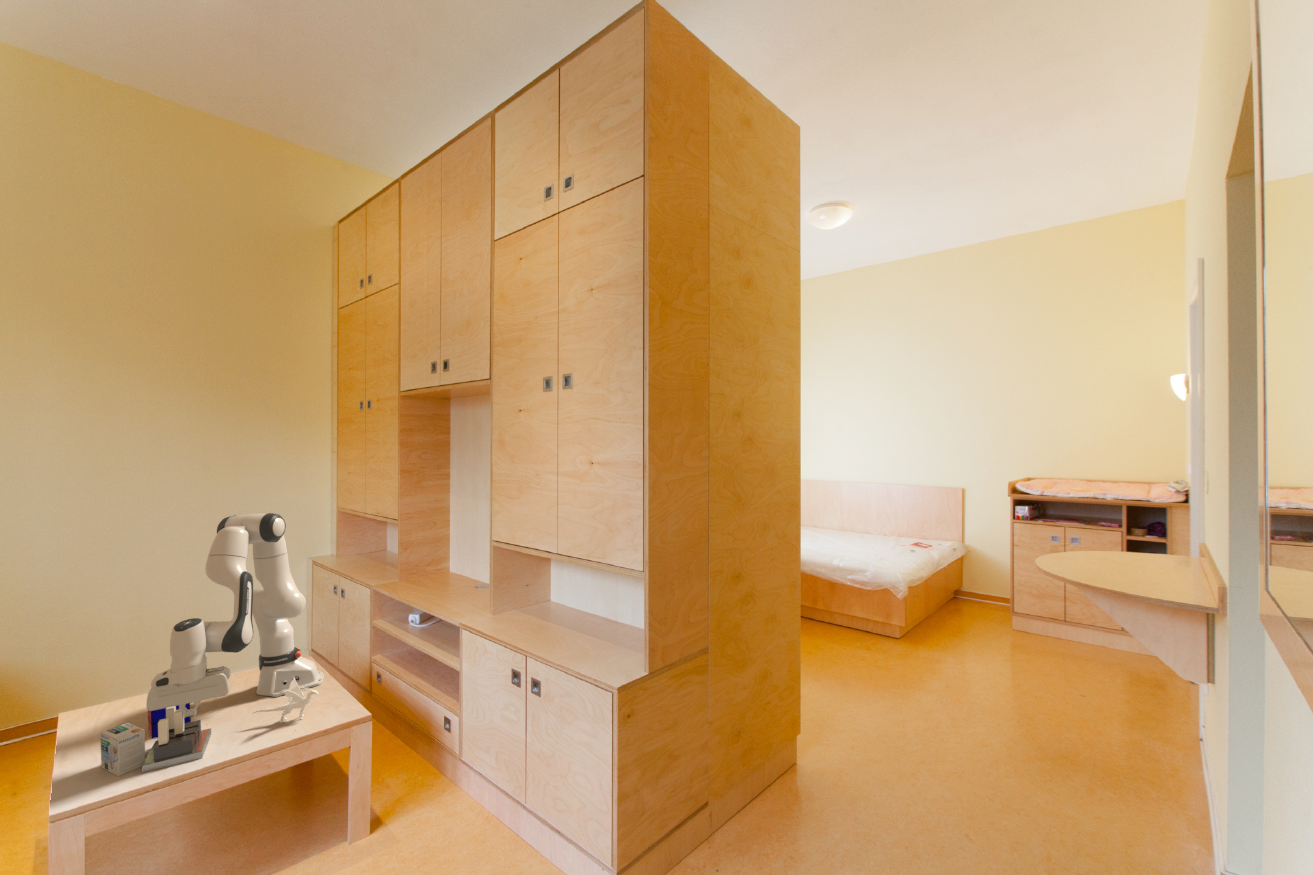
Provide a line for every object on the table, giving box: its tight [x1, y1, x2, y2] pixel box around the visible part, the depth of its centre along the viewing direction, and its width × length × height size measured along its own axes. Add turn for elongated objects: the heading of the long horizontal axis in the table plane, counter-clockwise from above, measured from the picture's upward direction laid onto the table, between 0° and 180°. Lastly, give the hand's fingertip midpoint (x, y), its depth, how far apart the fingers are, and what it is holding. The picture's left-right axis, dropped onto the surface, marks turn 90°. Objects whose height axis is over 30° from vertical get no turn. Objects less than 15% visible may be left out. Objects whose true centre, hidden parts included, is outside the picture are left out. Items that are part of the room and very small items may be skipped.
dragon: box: [251, 678, 320, 723], centre depth 195 cm, size 11×20×13 cm, turn 111°
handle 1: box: [157, 718, 169, 745], centre depth 171 cm, size 2×2×7 cm
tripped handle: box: [174, 709, 184, 735], centre depth 177 cm, size 2×2×7 cm
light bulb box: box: [99, 722, 146, 777], centre depth 170 cm, size 11×7×11 cm, turn 65°
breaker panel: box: [141, 719, 212, 774], centre depth 177 cm, size 14×16×6 cm
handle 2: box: [166, 706, 176, 730], centre depth 180 cm, size 2×2×7 cm
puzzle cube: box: [147, 703, 192, 739], centre depth 192 cm, size 10×10×10 cm
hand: (190, 715), depth 178 cm, fingers closed
